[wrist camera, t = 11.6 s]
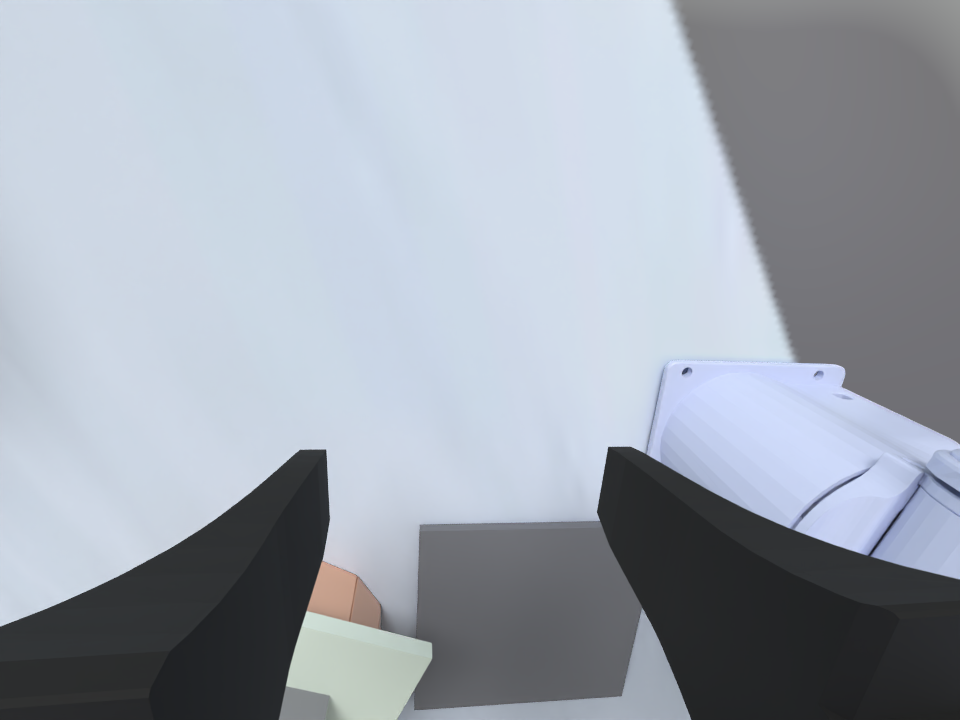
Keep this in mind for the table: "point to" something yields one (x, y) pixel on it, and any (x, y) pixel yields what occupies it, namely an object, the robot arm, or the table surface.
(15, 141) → the table surface
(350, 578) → the tan bowl
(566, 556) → the mat
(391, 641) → the sheet lid
